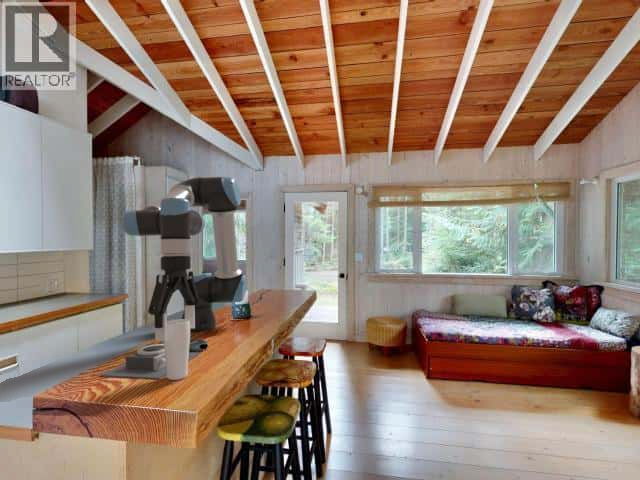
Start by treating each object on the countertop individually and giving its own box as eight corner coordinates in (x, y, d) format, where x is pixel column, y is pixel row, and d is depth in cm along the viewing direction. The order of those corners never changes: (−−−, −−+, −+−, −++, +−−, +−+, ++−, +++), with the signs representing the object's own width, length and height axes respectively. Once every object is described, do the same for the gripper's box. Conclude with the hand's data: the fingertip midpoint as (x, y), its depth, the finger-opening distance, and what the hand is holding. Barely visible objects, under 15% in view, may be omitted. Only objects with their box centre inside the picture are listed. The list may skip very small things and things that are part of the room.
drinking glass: (168, 373, 98) (168, 319, 99) (193, 372, 99) (193, 318, 99) (159, 382, 92) (159, 324, 92) (186, 381, 92) (185, 323, 92)
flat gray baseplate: (151, 352, 119) (151, 337, 119) (200, 353, 116) (200, 339, 116) (100, 376, 97) (99, 359, 97) (159, 379, 94) (159, 361, 94)
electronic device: (158, 357, 119) (197, 353, 115) (158, 340, 120) (196, 335, 116) (176, 352, 128) (213, 348, 124) (176, 336, 129) (212, 332, 125)
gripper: (187, 254, 109) (188, 323, 108) (131, 256, 84) (132, 346, 84) (210, 254, 107) (211, 324, 107) (160, 256, 83) (160, 347, 82)
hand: (176, 334), depth 95 cm, fingers open, 13 cm apart
